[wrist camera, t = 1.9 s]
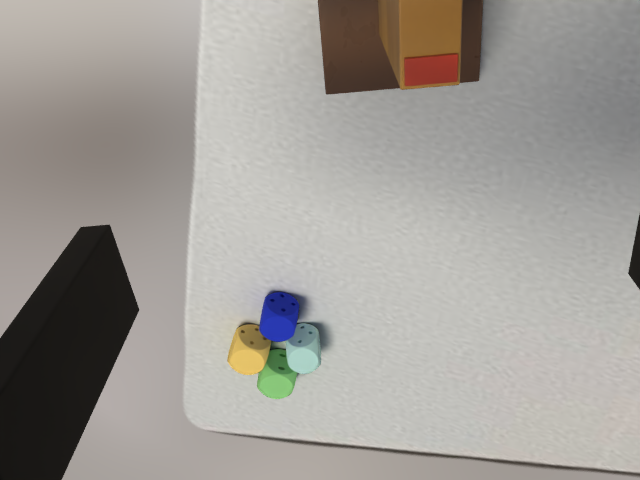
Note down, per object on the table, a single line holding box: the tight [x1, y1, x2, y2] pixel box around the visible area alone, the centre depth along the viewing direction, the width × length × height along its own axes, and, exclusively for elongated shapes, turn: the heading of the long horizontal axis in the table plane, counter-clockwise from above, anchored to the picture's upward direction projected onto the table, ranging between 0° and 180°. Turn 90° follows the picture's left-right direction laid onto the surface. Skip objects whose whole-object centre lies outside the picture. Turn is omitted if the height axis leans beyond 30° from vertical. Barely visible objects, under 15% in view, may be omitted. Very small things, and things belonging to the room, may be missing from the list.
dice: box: [227, 292, 321, 399], centre depth 41 cm, size 8×3×6 cm
